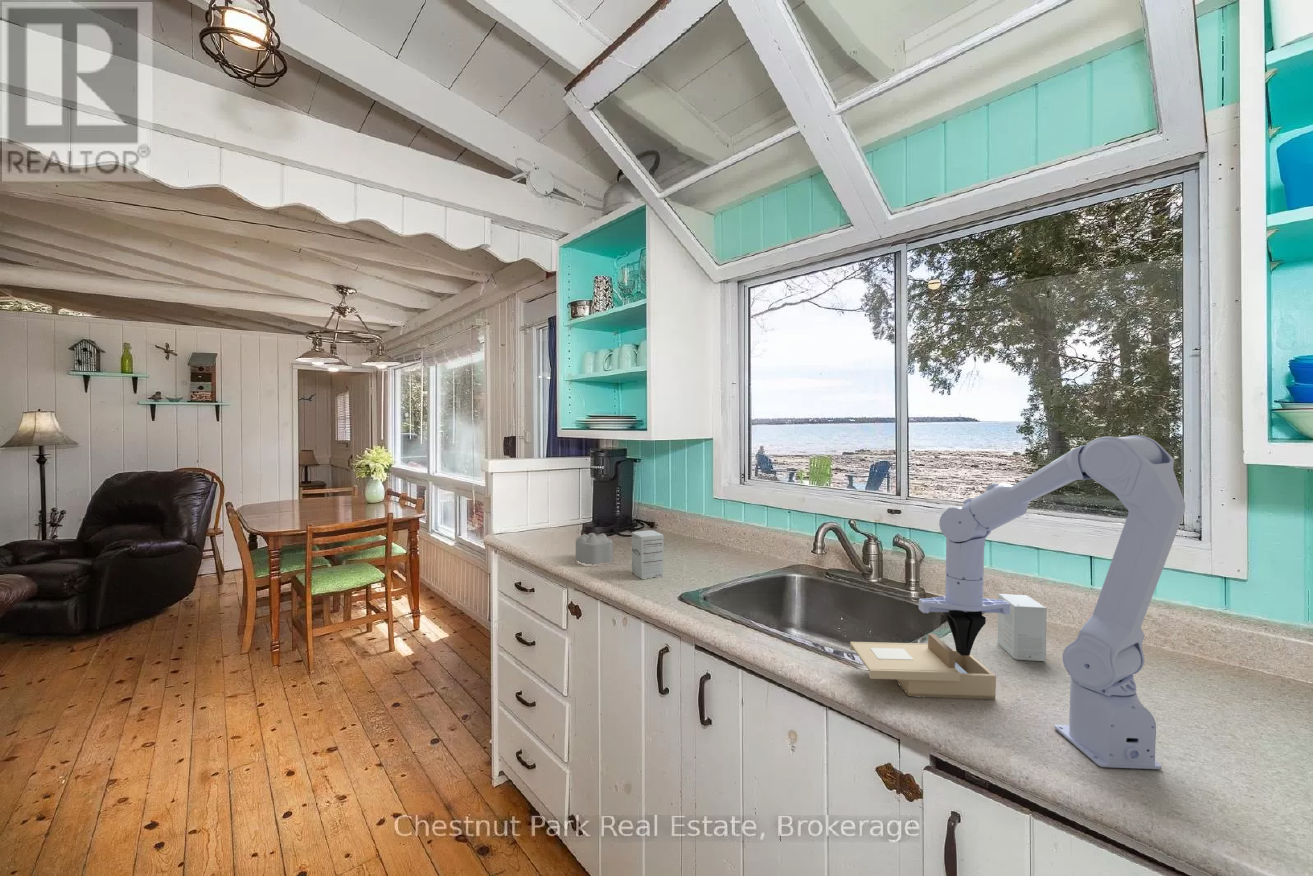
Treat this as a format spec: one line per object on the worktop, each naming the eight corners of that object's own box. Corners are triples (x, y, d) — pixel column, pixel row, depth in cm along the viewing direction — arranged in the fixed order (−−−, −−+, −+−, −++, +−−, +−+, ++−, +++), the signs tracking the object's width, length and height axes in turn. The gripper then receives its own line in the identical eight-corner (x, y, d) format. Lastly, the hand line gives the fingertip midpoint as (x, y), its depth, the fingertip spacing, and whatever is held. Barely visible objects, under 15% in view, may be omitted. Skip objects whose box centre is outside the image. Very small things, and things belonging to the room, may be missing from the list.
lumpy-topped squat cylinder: (588, 568, 169) (588, 540, 168) (568, 559, 179) (568, 533, 179) (616, 562, 175) (616, 536, 175) (595, 554, 185) (595, 529, 185)
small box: (1046, 662, 104) (1047, 608, 103) (1013, 660, 105) (1015, 606, 104) (1026, 645, 112) (1028, 594, 111) (996, 643, 113) (997, 592, 112)
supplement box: (631, 573, 163) (630, 531, 162) (653, 570, 166) (653, 529, 165) (640, 580, 156) (640, 536, 156) (664, 577, 159) (664, 534, 159)
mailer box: (995, 699, 90) (995, 675, 90) (908, 697, 91) (908, 673, 91) (965, 671, 100) (965, 649, 100) (886, 669, 101) (887, 648, 101)
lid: (959, 681, 90) (960, 657, 90) (870, 678, 91) (870, 655, 91) (929, 651, 101) (929, 629, 101) (850, 649, 102) (850, 628, 102)
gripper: (994, 570, 98) (993, 644, 99) (911, 569, 99) (910, 642, 100) (1018, 581, 91) (1016, 661, 92) (929, 580, 92) (927, 660, 93)
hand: (962, 653), depth 95 cm, fingers closed
